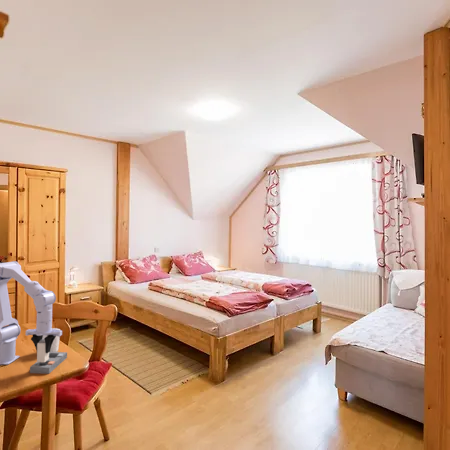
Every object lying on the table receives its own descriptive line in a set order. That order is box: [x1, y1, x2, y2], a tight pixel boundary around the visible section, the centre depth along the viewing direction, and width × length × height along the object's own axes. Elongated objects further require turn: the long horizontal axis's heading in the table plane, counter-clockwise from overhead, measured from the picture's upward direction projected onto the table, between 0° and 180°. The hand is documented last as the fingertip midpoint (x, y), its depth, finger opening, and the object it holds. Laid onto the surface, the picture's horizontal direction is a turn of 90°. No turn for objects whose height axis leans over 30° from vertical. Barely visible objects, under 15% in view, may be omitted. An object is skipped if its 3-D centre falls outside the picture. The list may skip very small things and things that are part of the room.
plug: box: [36, 339, 49, 362], centre depth 133 cm, size 3×3×9 cm
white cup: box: [42, 327, 61, 352], centre depth 151 cm, size 8×8×10 cm
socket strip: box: [29, 351, 68, 374], centre depth 138 cm, size 8×15×3 cm, turn 1°
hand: (43, 352), depth 134 cm, fingers closed on plug, 3 cm apart
